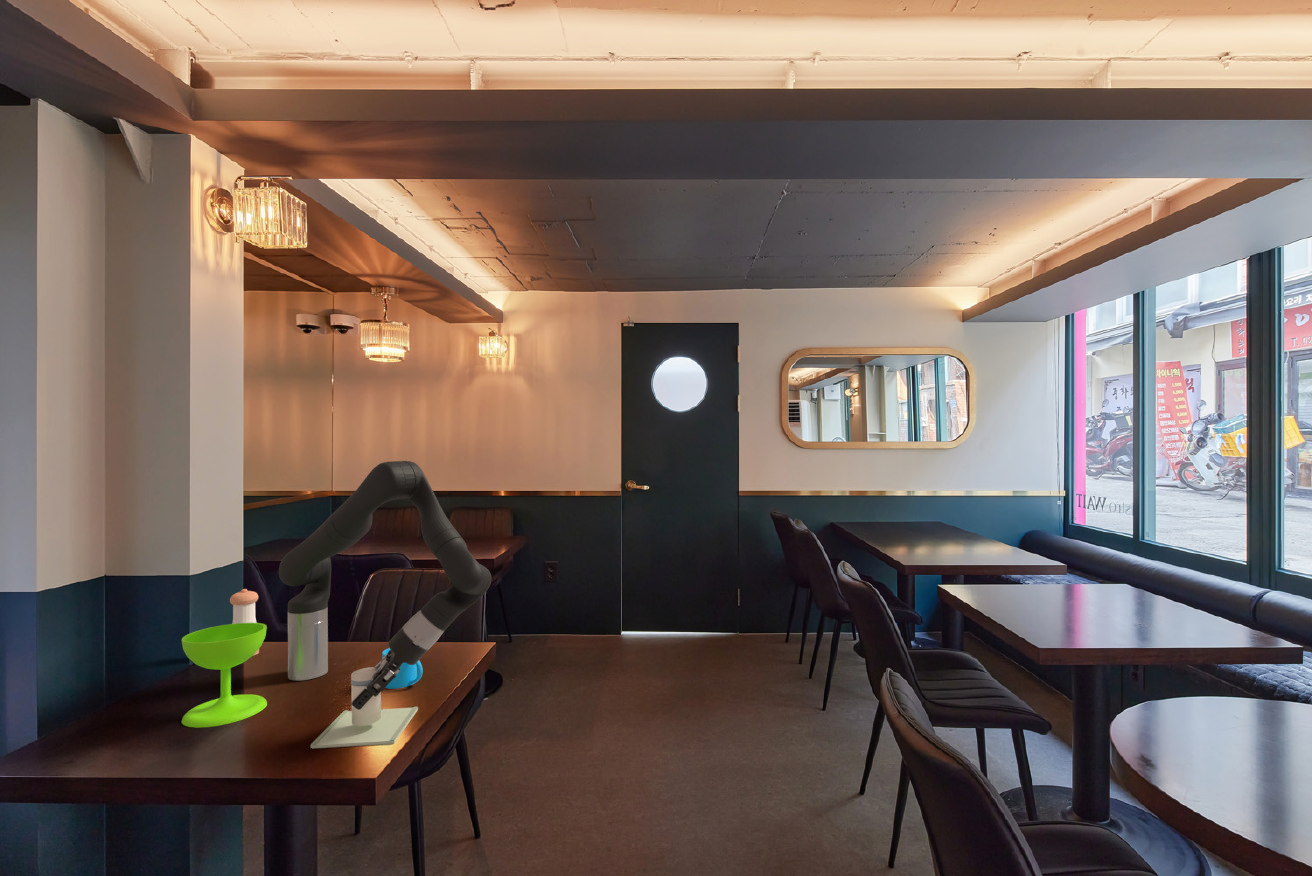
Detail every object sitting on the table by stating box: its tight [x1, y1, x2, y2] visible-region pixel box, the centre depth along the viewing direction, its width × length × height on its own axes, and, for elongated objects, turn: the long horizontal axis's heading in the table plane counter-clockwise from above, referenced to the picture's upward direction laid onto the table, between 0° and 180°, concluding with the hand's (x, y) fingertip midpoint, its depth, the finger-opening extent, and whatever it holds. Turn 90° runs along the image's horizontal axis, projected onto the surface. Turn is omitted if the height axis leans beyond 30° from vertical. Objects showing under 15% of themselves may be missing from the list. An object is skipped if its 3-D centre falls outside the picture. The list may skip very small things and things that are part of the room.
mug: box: [381, 647, 424, 690], centre depth 155 cm, size 12×8×8 cm
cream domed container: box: [350, 666, 382, 726], centre depth 129 cm, size 6×6×10 cm
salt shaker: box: [229, 588, 260, 657], centre depth 180 cm, size 7×7×19 cm
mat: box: [310, 706, 419, 749], centre depth 130 cm, size 16×16×1 cm
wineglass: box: [181, 622, 268, 729], centre depth 139 cm, size 16×16×18 cm
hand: (357, 700), depth 128 cm, fingers closed on cream domed container, 5 cm apart
